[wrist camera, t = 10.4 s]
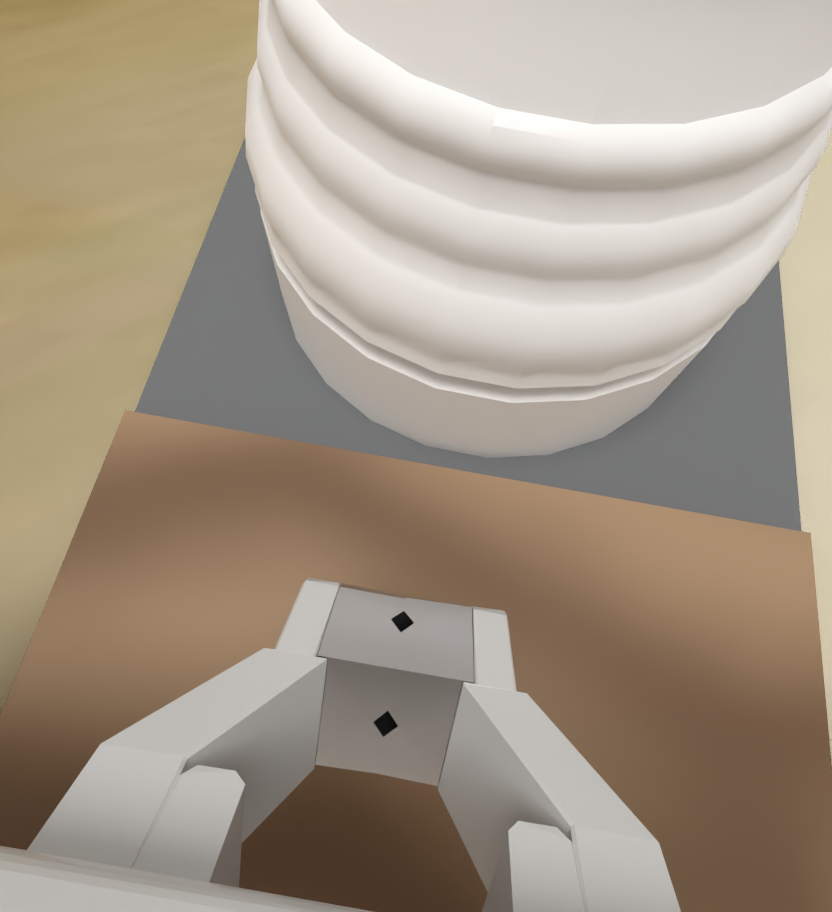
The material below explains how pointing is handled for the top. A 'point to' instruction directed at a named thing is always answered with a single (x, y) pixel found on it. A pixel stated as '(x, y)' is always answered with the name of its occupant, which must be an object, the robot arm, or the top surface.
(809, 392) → the top surface
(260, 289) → the trivet mat
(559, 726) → the cutting board
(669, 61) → the honey pot
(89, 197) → the top surface
